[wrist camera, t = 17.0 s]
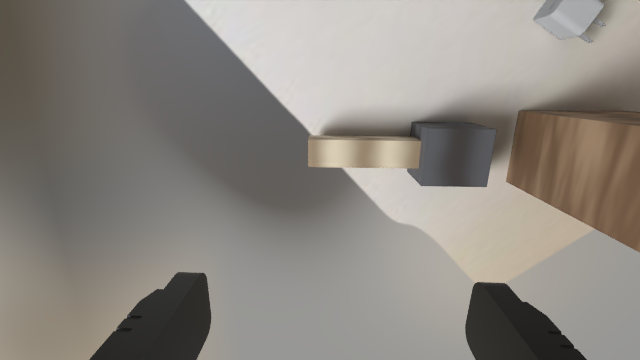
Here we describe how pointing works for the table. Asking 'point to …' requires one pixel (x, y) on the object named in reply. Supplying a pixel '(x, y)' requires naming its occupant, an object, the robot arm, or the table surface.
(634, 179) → the wooden block
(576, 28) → the usb wall charger
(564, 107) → the table surface
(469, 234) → the table surface
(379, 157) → the mallet
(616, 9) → the table surface
